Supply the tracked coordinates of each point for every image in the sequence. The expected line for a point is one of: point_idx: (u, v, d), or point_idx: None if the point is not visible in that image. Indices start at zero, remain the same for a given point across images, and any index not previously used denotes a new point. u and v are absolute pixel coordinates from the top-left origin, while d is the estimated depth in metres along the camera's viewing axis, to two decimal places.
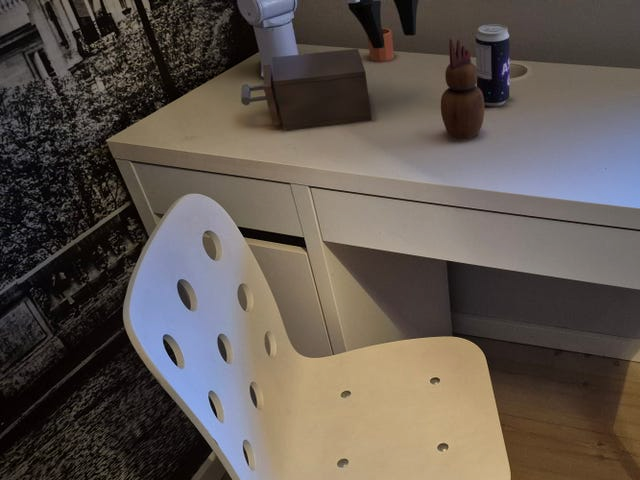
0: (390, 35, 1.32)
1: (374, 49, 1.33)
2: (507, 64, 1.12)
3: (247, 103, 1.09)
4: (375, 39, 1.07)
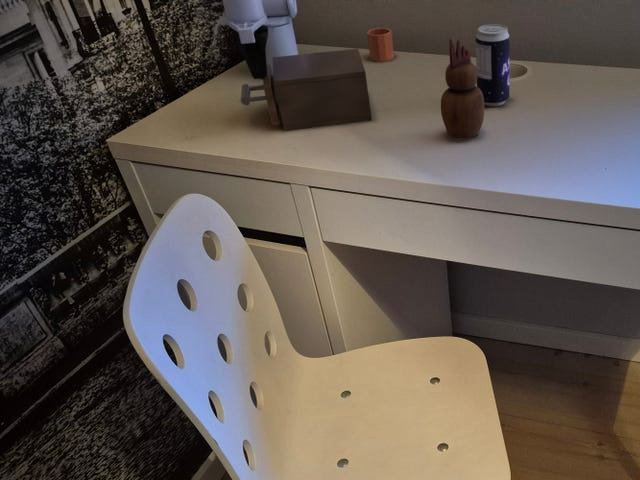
0: (390, 35, 1.32)
1: (374, 49, 1.33)
2: (507, 64, 1.12)
3: (247, 103, 1.09)
4: None
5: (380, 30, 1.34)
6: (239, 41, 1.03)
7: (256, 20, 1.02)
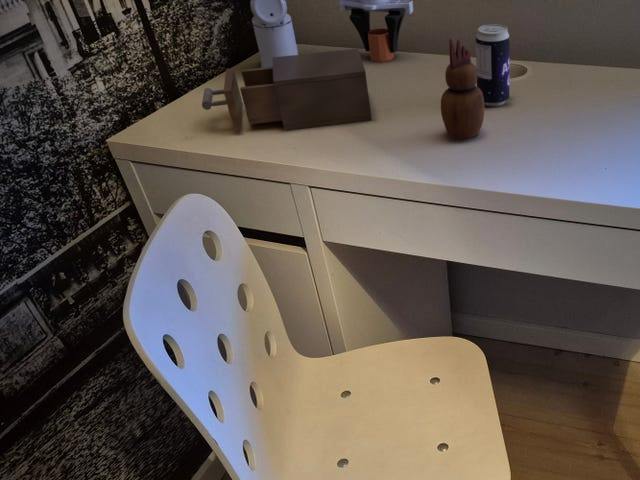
0: None
1: (374, 49, 1.33)
2: (507, 64, 1.12)
3: (208, 107, 1.08)
4: None
5: (380, 30, 1.34)
6: (398, 19, 1.29)
7: None
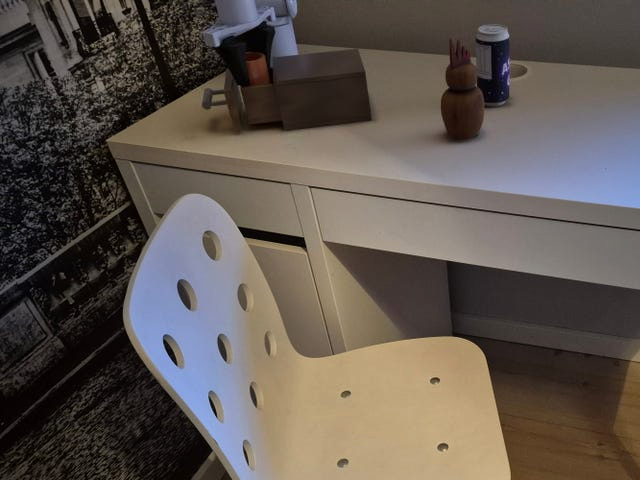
0: None
1: None
2: (507, 64, 1.12)
3: (208, 107, 1.08)
4: None
5: None
6: (214, 46, 1.03)
7: (236, 25, 1.01)
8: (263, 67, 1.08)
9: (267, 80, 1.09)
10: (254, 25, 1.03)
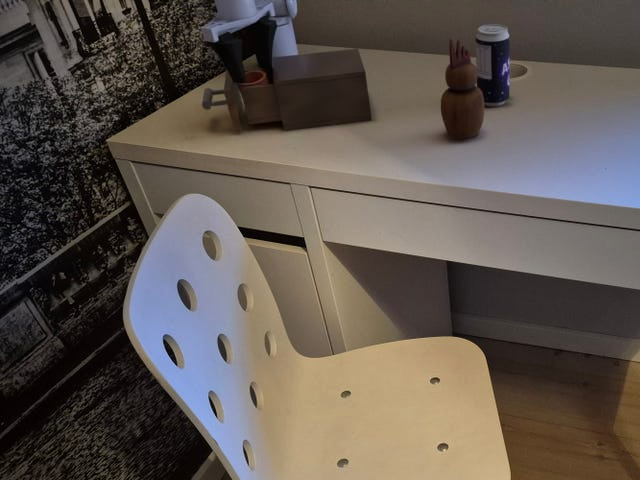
0: None
1: None
2: (507, 64, 1.12)
3: (208, 107, 1.08)
4: None
5: None
6: (210, 43, 1.02)
7: (235, 20, 1.01)
8: None
9: None
10: (253, 20, 1.02)
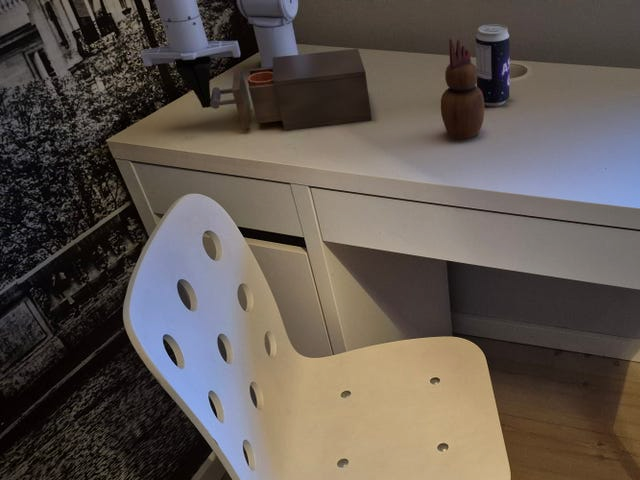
0: (253, 85, 1.09)
1: None
2: (507, 64, 1.12)
3: (216, 106, 1.08)
4: None
5: None
6: (210, 67, 1.06)
7: None
8: None
9: None
10: None
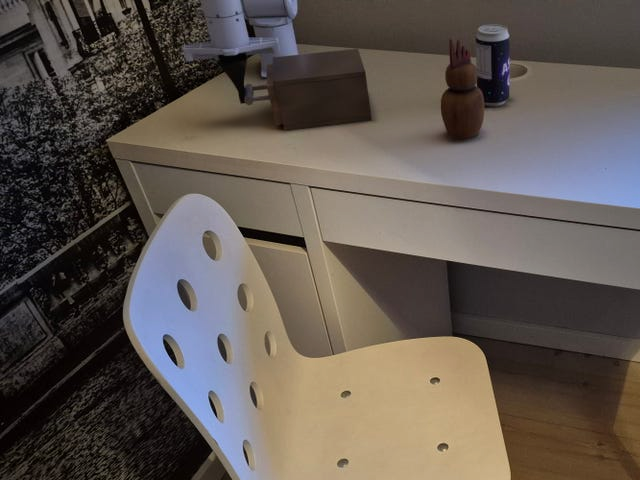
0: None
1: None
2: (507, 64, 1.12)
3: (250, 103, 1.09)
4: None
5: None
6: (246, 64, 1.06)
7: None
8: None
9: None
10: None
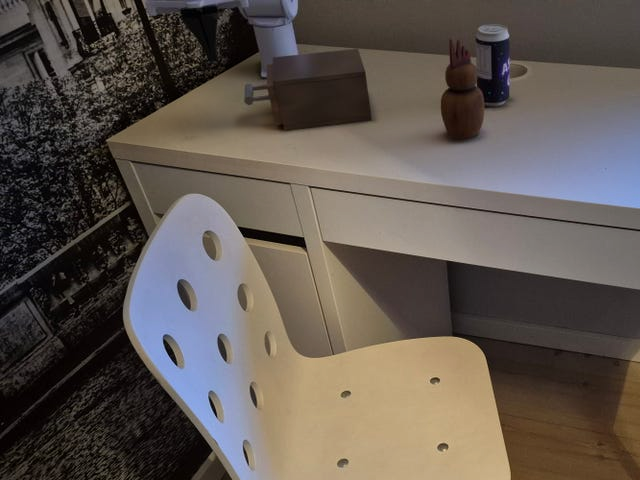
0: None
1: None
2: (507, 64, 1.12)
3: (250, 103, 1.09)
4: None
5: None
6: (217, 17, 1.01)
7: None
8: None
9: None
10: None
